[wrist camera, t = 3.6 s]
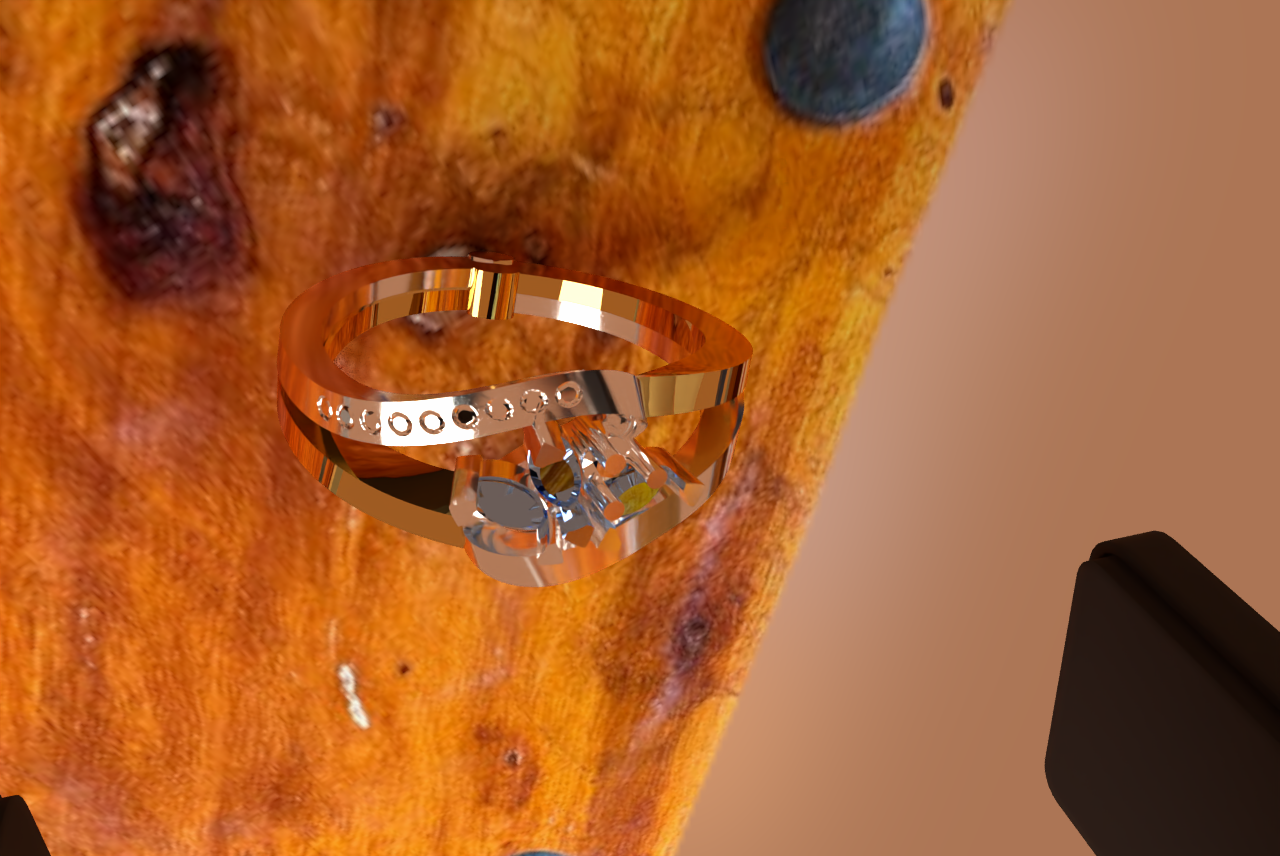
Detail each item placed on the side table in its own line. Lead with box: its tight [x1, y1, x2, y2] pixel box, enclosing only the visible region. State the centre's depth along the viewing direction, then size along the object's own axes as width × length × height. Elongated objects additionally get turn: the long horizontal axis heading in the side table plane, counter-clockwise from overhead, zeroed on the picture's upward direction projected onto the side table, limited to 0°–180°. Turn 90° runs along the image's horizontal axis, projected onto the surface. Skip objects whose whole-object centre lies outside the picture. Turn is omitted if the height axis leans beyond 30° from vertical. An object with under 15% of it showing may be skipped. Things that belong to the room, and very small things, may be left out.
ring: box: [277, 251, 753, 587], centre depth 17 cm, size 7×3×8 cm, turn 79°
